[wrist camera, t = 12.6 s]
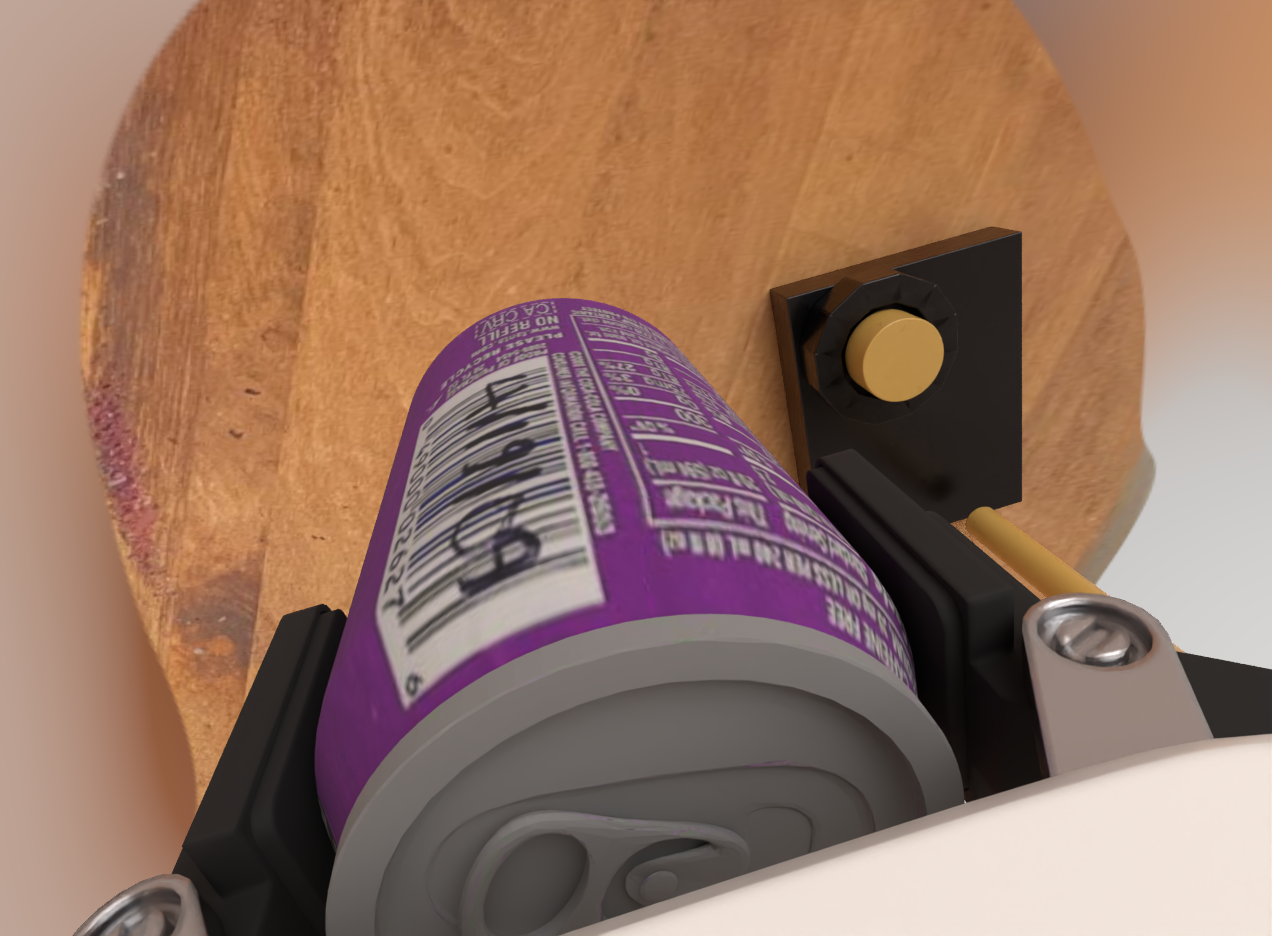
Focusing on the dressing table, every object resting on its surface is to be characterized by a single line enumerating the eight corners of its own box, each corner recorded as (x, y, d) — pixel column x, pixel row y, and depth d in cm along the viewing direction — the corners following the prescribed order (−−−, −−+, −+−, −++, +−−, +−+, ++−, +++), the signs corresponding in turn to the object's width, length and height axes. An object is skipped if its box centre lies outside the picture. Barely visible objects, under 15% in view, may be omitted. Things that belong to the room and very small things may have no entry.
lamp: (898, 473, 34) (1450, 930, 15) (1057, 425, 35) (1799, 805, 15) (909, 608, 38) (1367, 1125, 18) (1053, 563, 38) (1652, 1018, 18)
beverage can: (385, 542, 18) (229, 1139, 7) (438, 253, 16) (320, 516, 5) (656, 583, 20) (849, 1106, 9) (741, 333, 18) (1142, 646, 7)
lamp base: (768, 283, 34) (801, 301, 30) (991, 220, 34) (1050, 230, 31) (808, 541, 40) (839, 581, 36) (996, 483, 40) (1045, 517, 37)
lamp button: (840, 321, 31) (858, 331, 30) (919, 299, 31) (942, 307, 30) (849, 399, 33) (867, 412, 31) (924, 377, 33) (946, 388, 31)
